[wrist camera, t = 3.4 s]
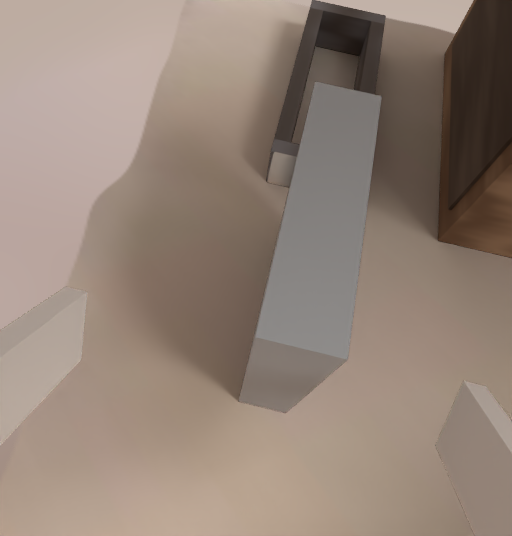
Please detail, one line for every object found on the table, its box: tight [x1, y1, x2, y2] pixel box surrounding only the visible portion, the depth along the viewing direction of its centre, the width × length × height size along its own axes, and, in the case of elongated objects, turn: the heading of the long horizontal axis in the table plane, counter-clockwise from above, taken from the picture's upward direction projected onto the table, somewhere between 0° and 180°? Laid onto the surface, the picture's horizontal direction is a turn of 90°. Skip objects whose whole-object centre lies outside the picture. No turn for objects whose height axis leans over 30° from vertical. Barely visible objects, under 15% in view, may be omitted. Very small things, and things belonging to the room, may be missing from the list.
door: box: [238, 81, 382, 413], centre depth 22 cm, size 4×12×14 cm, turn 167°
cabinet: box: [266, 0, 512, 258], centre depth 30 cm, size 26×22×16 cm
